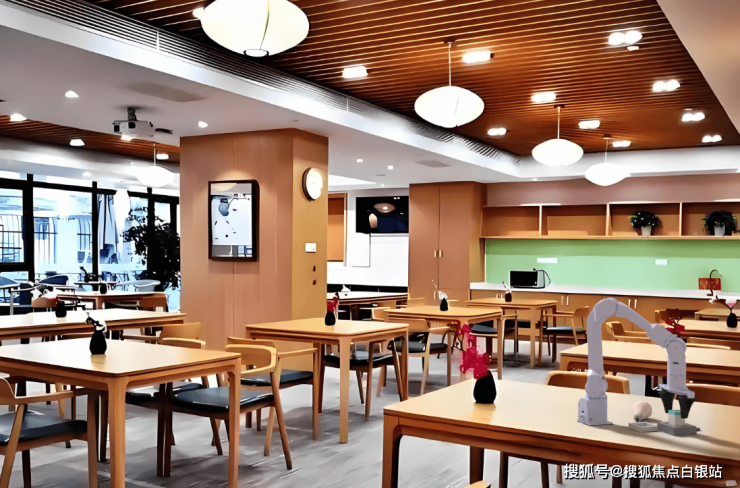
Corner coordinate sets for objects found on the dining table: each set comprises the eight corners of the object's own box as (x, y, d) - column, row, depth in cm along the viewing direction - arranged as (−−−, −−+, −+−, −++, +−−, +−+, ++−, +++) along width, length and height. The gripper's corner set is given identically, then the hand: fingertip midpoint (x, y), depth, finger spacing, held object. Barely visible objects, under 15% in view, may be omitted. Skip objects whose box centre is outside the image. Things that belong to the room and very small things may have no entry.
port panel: (673, 435, 224) (673, 427, 224) (657, 429, 231) (657, 422, 231) (708, 433, 227) (708, 425, 227) (691, 427, 235) (691, 420, 235)
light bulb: (644, 410, 240) (651, 396, 248) (625, 411, 244) (633, 398, 252) (649, 427, 240) (656, 413, 249) (630, 428, 244) (638, 414, 253)
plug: (674, 433, 227) (674, 412, 227) (668, 431, 230) (668, 410, 230) (685, 432, 228) (685, 411, 228) (678, 430, 231) (678, 409, 231)
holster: (640, 431, 228) (640, 427, 228) (628, 427, 234) (628, 422, 234) (658, 430, 230) (658, 426, 230) (645, 426, 236) (645, 421, 236)
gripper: (702, 378, 223) (702, 420, 223) (671, 370, 237) (671, 410, 237) (684, 378, 221) (684, 421, 221) (654, 371, 235) (654, 411, 235)
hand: (676, 415), depth 229 cm, fingers open, 7 cm apart
